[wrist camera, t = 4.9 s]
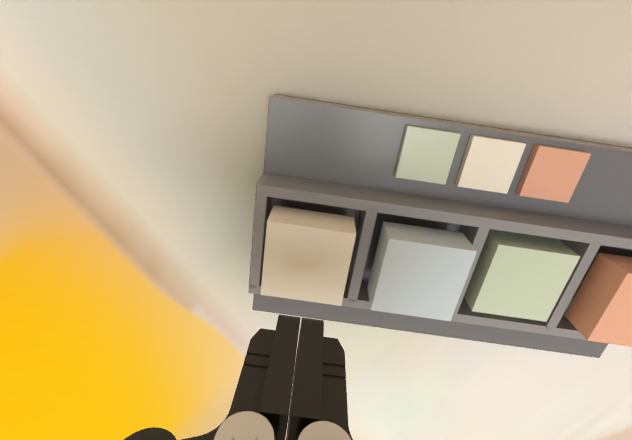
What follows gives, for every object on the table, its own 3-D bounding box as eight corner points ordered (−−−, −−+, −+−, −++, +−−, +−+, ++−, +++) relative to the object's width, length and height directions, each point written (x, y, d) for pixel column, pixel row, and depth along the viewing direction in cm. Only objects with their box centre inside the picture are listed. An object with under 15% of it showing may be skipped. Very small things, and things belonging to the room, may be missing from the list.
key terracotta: (598, 252, 17) (627, 273, 15) (675, 263, 17) (713, 285, 15) (564, 315, 18) (587, 340, 17) (635, 325, 18) (665, 351, 17)
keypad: (274, 94, 17) (262, 101, 14) (690, 157, 18) (765, 177, 14) (257, 294, 22) (245, 331, 19) (582, 339, 22) (621, 382, 19)
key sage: (483, 227, 17) (498, 244, 16) (557, 238, 18) (580, 256, 16) (459, 289, 19) (471, 311, 17) (528, 299, 19) (546, 321, 17)
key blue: (383, 221, 16) (389, 238, 15) (462, 232, 17) (477, 251, 15) (367, 287, 18) (370, 310, 16) (439, 297, 18) (450, 321, 16)
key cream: (273, 205, 16) (266, 221, 15) (353, 217, 16) (356, 233, 15) (266, 273, 18) (260, 294, 16) (340, 283, 18) (341, 306, 16)
